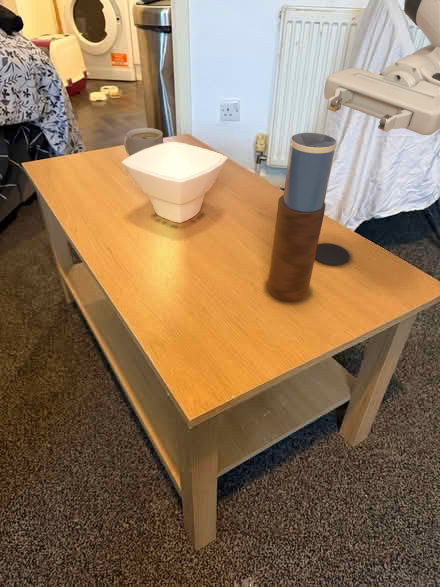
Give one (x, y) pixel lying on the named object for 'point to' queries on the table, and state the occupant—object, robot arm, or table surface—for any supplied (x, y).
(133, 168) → the bowl
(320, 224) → the stand
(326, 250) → the coaster
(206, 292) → the table surface
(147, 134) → the coffee mug
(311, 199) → the tumbler
